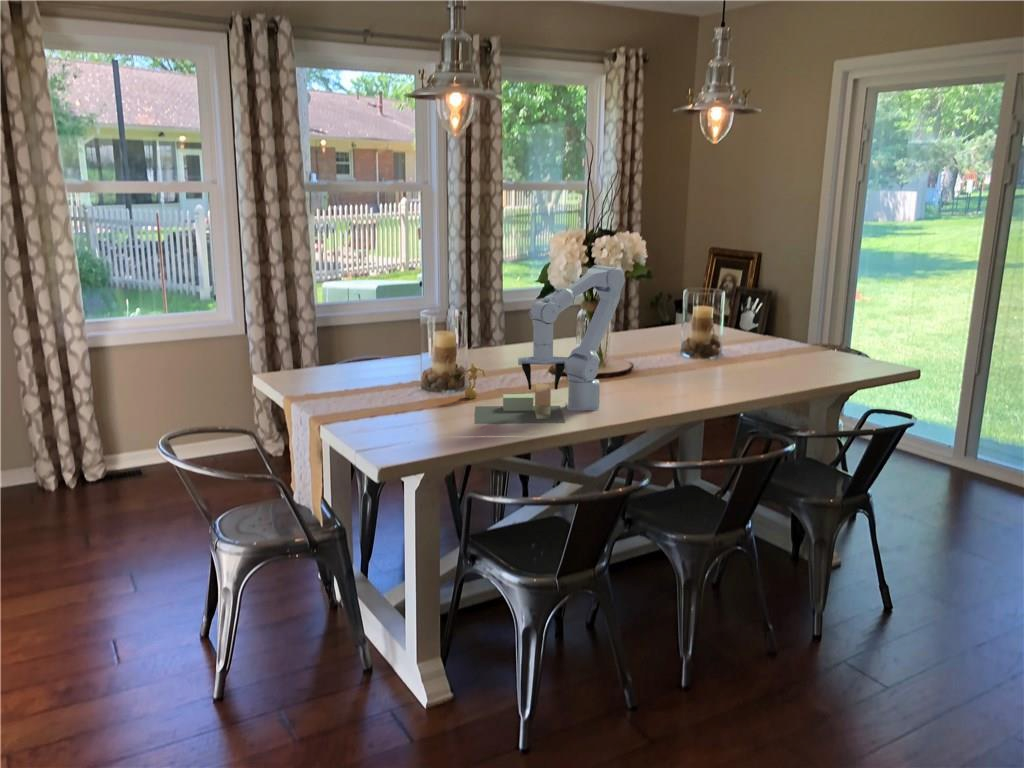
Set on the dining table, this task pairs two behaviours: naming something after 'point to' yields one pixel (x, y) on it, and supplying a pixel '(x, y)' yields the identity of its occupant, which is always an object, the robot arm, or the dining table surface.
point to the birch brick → (542, 411)
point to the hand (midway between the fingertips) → (542, 388)
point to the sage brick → (517, 402)
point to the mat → (514, 415)
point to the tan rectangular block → (542, 394)
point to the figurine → (470, 391)
